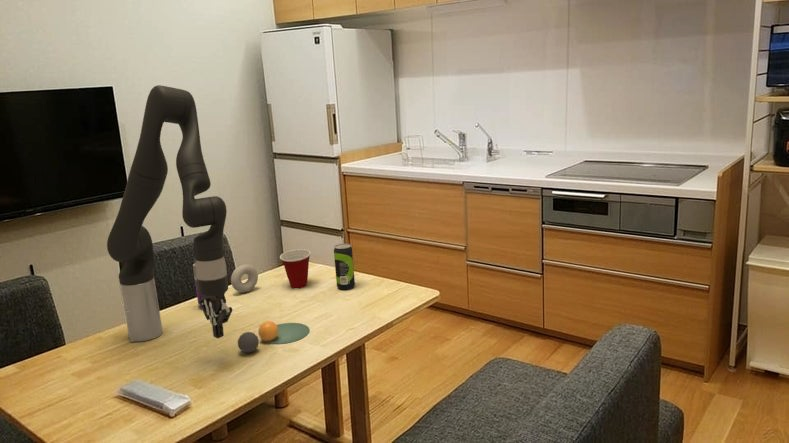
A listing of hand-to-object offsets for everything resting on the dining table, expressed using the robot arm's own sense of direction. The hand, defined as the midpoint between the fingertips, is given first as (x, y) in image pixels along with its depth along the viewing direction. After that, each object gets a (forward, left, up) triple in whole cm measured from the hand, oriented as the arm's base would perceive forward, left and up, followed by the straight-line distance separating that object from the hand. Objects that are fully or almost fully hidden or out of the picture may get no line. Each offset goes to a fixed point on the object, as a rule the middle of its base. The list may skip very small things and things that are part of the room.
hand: (218, 336), depth 159 cm
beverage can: (+50, +29, -7) cm, 58 cm away
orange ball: (+14, +4, -4) cm, 15 cm away
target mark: (+19, +5, -6) cm, 21 cm away
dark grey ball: (+7, 0, -4) cm, 8 cm away
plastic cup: (+37, +41, -7) cm, 56 cm away
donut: (+20, +47, -7) cm, 52 cm away
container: (+5, +41, -7) cm, 42 cm away
